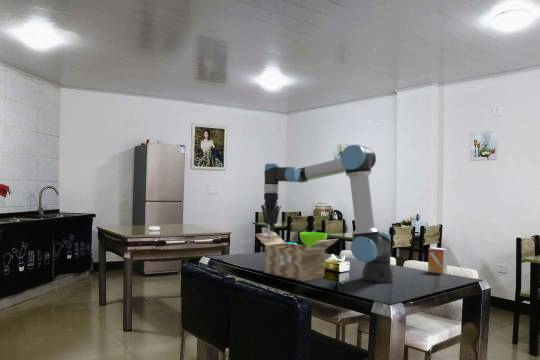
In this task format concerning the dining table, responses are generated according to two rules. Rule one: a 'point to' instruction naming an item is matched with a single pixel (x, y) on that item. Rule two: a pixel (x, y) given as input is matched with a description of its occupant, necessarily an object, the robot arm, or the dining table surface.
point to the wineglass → (312, 237)
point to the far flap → (269, 239)
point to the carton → (294, 261)
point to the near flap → (321, 245)
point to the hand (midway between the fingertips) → (270, 236)
